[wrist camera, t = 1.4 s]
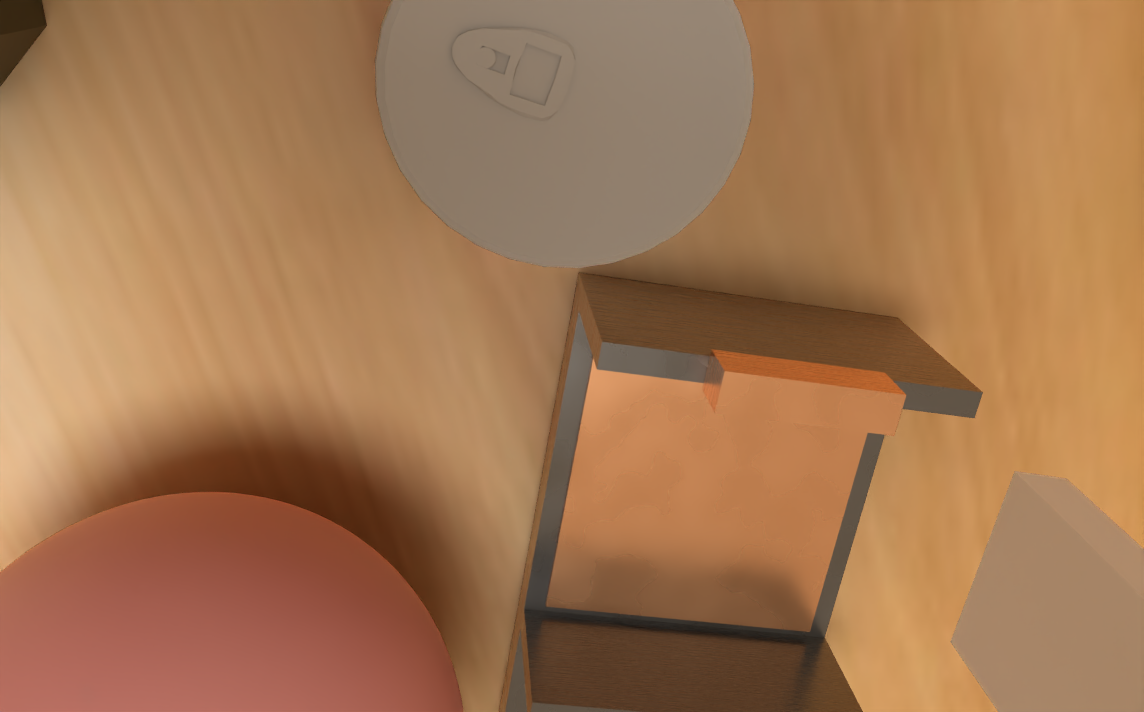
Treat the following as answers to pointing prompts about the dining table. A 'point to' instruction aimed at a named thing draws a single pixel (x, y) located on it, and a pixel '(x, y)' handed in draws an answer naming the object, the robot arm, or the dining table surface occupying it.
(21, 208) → the dining table surface
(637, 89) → the canned food
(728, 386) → the rack
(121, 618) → the balloon
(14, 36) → the wine bottle
